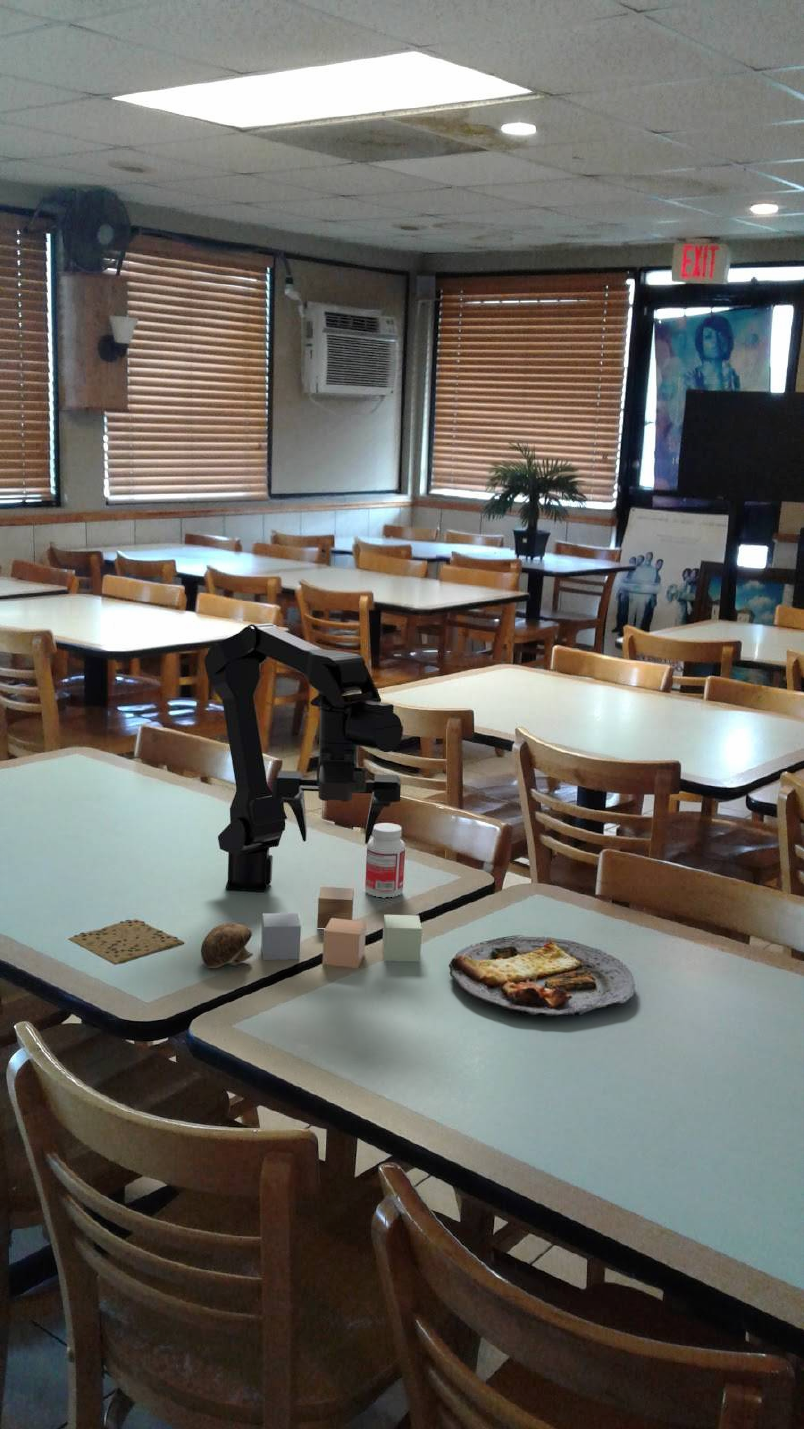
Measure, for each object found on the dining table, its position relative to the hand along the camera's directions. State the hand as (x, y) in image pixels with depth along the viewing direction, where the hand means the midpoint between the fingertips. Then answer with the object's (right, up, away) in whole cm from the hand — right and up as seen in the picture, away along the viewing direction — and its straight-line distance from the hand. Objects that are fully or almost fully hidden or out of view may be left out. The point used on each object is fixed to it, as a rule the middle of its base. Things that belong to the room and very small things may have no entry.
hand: (335, 841), depth 188 cm
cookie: (-29, -14, -9) cm, 34 cm away
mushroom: (-14, -15, -15) cm, 26 cm away
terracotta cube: (+2, -15, -11) cm, 19 cm away
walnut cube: (0, -13, +1) cm, 13 cm away
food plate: (+29, -18, -16) cm, 38 cm away
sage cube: (+10, -15, -8) cm, 20 cm away
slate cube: (-7, -15, -10) cm, 19 cm away
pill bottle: (+7, -10, +16) cm, 20 cm away
